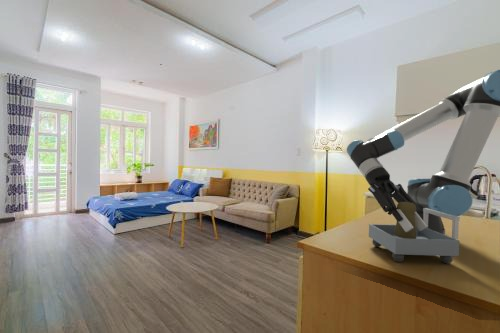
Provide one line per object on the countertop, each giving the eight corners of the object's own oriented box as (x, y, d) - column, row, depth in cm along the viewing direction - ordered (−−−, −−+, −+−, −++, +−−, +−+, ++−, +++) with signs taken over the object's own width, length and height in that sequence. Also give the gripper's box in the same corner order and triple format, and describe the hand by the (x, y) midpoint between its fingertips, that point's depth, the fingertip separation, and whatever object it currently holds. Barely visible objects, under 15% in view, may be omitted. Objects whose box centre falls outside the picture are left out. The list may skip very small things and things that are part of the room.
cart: (422, 246, 83) (423, 207, 83) (461, 266, 67) (463, 218, 67) (368, 244, 83) (369, 206, 83) (394, 264, 67) (396, 216, 67)
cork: (420, 240, 71) (422, 204, 71) (398, 238, 73) (400, 203, 72) (411, 234, 77) (412, 201, 77) (391, 232, 78) (392, 200, 78)
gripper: (386, 179, 92) (428, 232, 77) (349, 179, 86) (386, 237, 71) (399, 166, 87) (446, 221, 72) (360, 165, 81) (403, 224, 66)
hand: (416, 229), depth 72 cm, fingers closed on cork, 5 cm apart
